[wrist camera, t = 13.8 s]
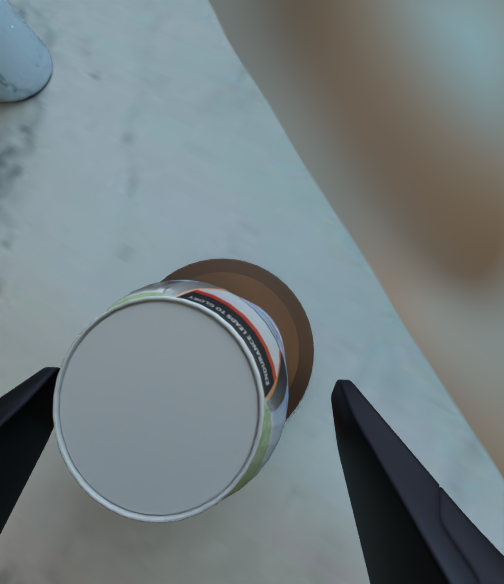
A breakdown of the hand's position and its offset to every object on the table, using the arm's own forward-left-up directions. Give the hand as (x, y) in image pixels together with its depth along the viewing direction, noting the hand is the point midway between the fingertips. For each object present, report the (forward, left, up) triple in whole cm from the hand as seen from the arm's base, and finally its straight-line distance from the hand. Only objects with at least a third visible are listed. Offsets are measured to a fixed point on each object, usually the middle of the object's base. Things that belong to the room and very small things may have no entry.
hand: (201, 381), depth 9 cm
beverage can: (0, 0, -9) cm, 9 cm away
